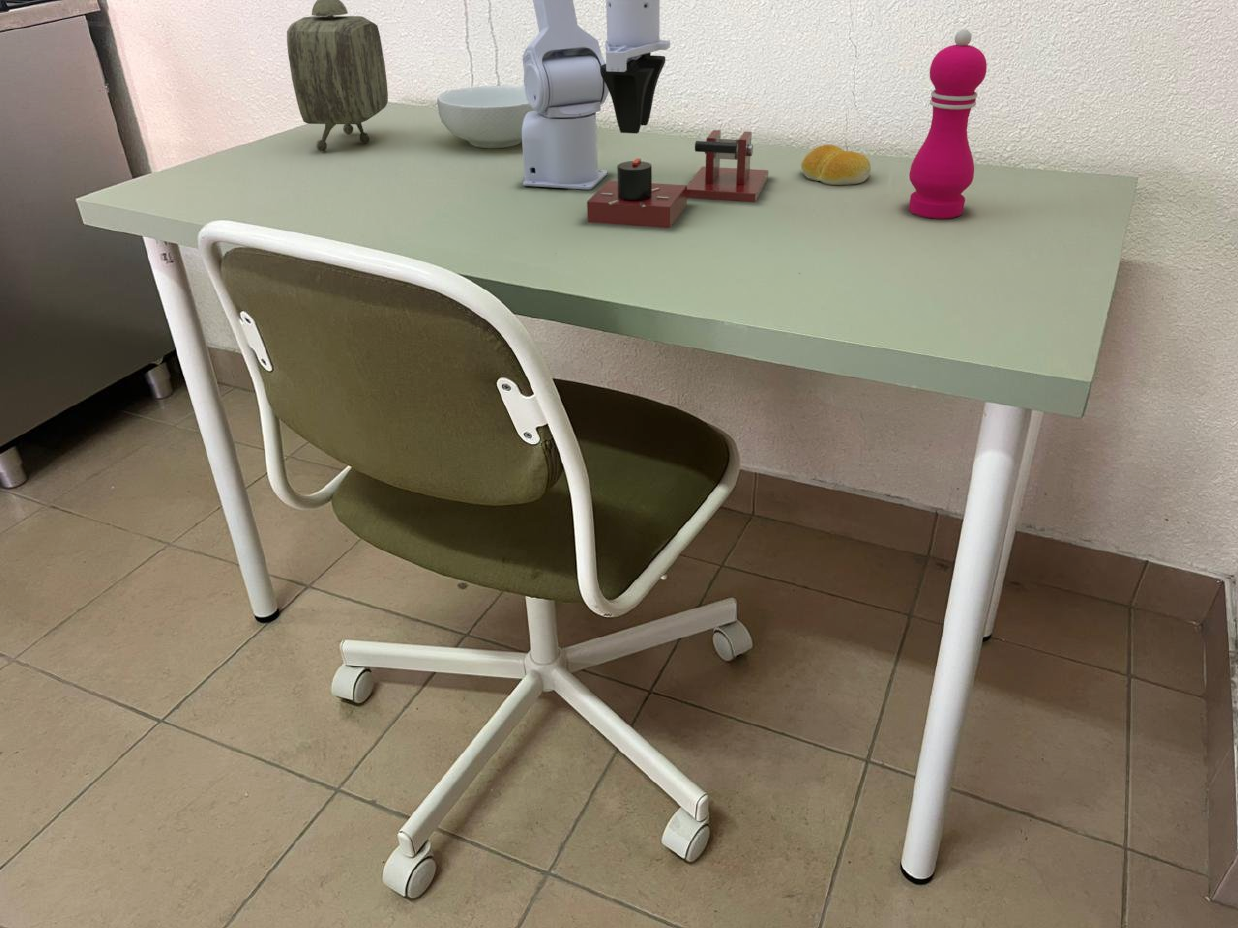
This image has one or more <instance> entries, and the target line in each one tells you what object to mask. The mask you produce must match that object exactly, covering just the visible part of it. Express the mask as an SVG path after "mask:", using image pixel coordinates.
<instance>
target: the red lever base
mask: <svg viewBox="0 0 1238 928" xmlns="http://www.w3.org/2000/svg"><path fill="white" fill-rule="evenodd" d="M721 131H722V130H720V129H713V130H712V131H711V132H710V133H709V135H708V136H707V137H706V141H707V142H719V139H722V137H721V136H722V135H721V134H722V132H721ZM752 136H753V132H752V131H748V130H747V131H743V132H742V134H741V135H740V137H739V138H738V139H737V140H738V157H737V160H736V161H737V162H736V167H735V168H734V167H720V161H721V159H718V153H713V152H704V154H705V166H701V167H700V168H699V170H698V171H697V172H696V174H695V175H694V176H693V178H692V179H691V180H690V181H689V183H688V184H686V185H687V199H696V200H714V201H727V202H728V201H729V202H744V203H756V201H757V200H758V199H759V196H760V194H761V192H762V190H763V188H764V187H765V185H766V183H767V181H768V180H769V170H768V169H756V168H755V169H754V168H751V157H752V156H753V154H754V144H752Z"/></svg>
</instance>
